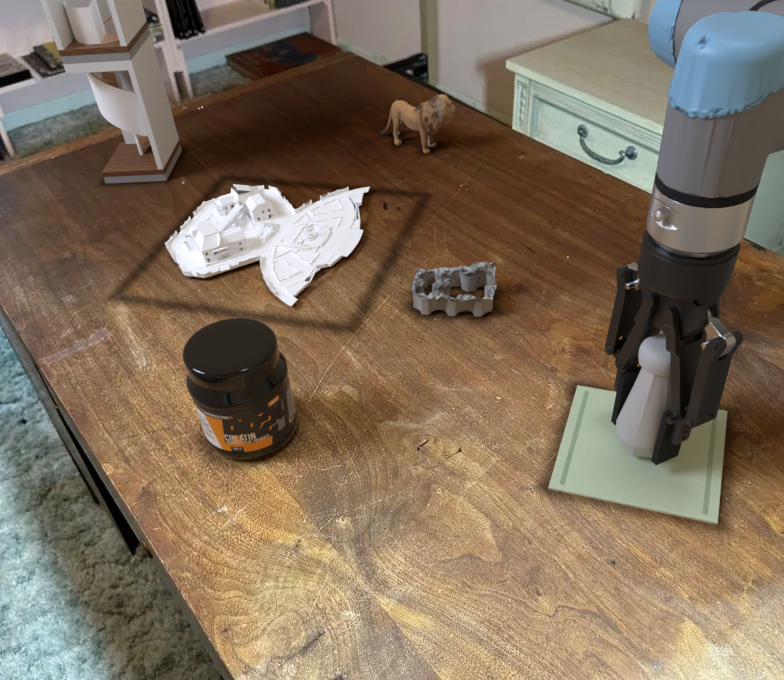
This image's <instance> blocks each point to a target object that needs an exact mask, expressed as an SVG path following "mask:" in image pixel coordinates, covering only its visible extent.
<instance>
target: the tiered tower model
mask: <svg viewBox="0 0 784 680" xmlns="http://www.w3.org/2000/svg"><path fill="white" fill-rule="evenodd" d="M39 2H40V3H41V7H42V9H43V13H44V15H45V18H46V20H47V23H48V26H49V30H50V33H51V35H52V37H53V40H54V43H55V46H56V49H57V51H58V54H59V58H60V60H61V63H62V66H63V68H64V72H65V73H66V75H68V74H69V75H70V74H86V76H87V78H88V81H89V84H90V87H91V90H92V93H93V96H94V99H95V102H96V105H97V107H98V110H99V112H100V114H101V115H102V117H103V118H104V119H105V120H106V121H107V122H109V124H111V125H112V126H114V127H116V128H119V129H120V131H121V133H122V136H123V137H122V138H123V140H124V141H121V142H120V143H119V144H118V146H117V148H116V149H115V151H114V152H113V154H112V155H111V156H110V158H109V160H108V162H107V163H106V164H105V166H104V168H103V170H102V171H101V175H102V178H103V180H104V183H105V184H121V183H123V184H124V183H125V184H126V183H127V184H128V183H145V182H167V181H168V179H169V177H170V175H171V173H172V171H173V169H174V167H175V165H176V164H177V161H178V159H179V157H180V155H181V153H182V152H183V149H182V144H181V140H180V138H179V134H178V130H177V127H176V126H177V125H176V123H175V120H174V116H173V111H172V109H171V105H170V104H171V103H170V101H169V98H168V94H167V90H166V85H165V82H164V79H163V75H162V72H161V68H160V64H159V60H158V57H157V53H156V49H155V46H154V42H153V39H152V34H151V30H150V28H149V24H148V20H147V16H146V13H145V10H144V5H143V2H142V0H39Z"/></svg>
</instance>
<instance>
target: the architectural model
mask: <svg viewBox="0 0 784 680" xmlns="http://www.w3.org/2000/svg"><path fill="white" fill-rule="evenodd" d="M370 188H371V186H365V187H359V188H354V189H350V188H349V186H347V187H344V188H342V189H336V190H335V191H332V192H327V194H326V193H325V194H323V196H322V195H319V200H317V201H315V202H313V200H312V199H309V201H307V202H306V203H304V202H303V204H302V205H301V206H299V207H297V208H294V207H293V204H292V203H290V202H289V200H288V199H286V196H285V195H284V196H282V192H281V191H280V190H279V188H278V187H275V186H272V185H268V188H265V185H264V184H262V185H248V184H237V183H236V184H234V183H233V184H232V186H231V187H230V193H227V194H222V195H220V196H218V197H216V198H214V197H212V199H209V198H208V200H207V201H205V200H203V201H202V202H201V204H200V205H199V206H197V208H196V210H194V211H192V215H193V217H192V218H191V216H188V218H187V220H185V221H184V223H183V224H182V225H180V226H179V227H180V231H179V232H177V230H175V231H174V233H173V235H170V236H169V239H168V240H167V241H165V242H164V245H165V248H166V250H167V251H168V253H169V254H170V256H171V258H172V260H173V261H174V263H176V264H177V265H178V268H179V270H180V271H181V273H182V274H183V275H184V276H185V277H192V278H193V277H195V278H201V279H202V278H203V279H206V278H211V277H213V276H216V275H218V274H222V273H224V272H228V271H231V270H234V269H237V268H239V267H243V266H247V265H249V264H252V263H255V262H258V261H259V265H260V266H259V269H260V273H261V274H262V279H263V280H264V282H265V285H266V286H267V288H268V289H269V291H271V293H272V294H273V295H274V296H275V297H276V298H278V299H279V300H280V301H281V302H282V303H284V304H286V305H287V306H289V307H293V306H294V304H295V303H296V302H297V301H299V299H298V298H296V297H298V295H299V294H301V292H302V291H304V290H305V289H306V288H307V287H308V286H309V285H310V284H311V282H312V281H313V279H314V277H315V275H316V273H318V272H319V271H321V270H322V269H324V268H325V269H326V268H329V267H330V268H331V267H333V266H334V265H335V264H336V263H337V262H339V261H340V260H341V259H342V258H344V257H345V258H348V256H349V255H351V253H352V252H353V251H354V250H355V249H356V248H357V245H358V244H359V243H360V241H361V239H362V236H363V234H364V229H361V220H362V219H361V215H360V208H359V207H360V206H363V198H364V195H365V194H366V193H369V190H370Z"/></svg>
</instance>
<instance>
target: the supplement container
mask: <svg viewBox="0 0 784 680" xmlns="http://www.w3.org/2000/svg"><path fill="white" fill-rule="evenodd" d="M182 361H183V364H184V367H185V370H186V377H185V384H186V388H187V392H188V394H189V396H190V397H191V399H192V402H193V404H194V408H195V410H196V414H197V416H198V419H199V422H200V425H201V428H202V432H203V436H204V439H205V441H206V442H207V444H208V445H209V447H210V448H211V449H212V450H213V451H215V452H216V453H217V454H219V455H221V456H223V457H226V458H229V459H234V460H241V461H242V460H244V461H245V460H255V459H259V458H263V457H266V456H268V455H271V454H273V453H275V452H276V451H278V450H280V449H282V447H284V446H285V445H286V444H287V443H288V442H289V441H290V440H291V438H292V437H293V436H294V435H295V433H296V430H297V427H298V423H299V413H298V410H297V407H296V403H295V399H294V395H293V390H292V385H291V380H290V376H289V366H288V365H289V364H288V361H287V359H286V357H285V354H284V353H283V352H282V351H281V350H280V347H279V343H278V337H277V336H276V333H275V331H274V329H272V328H271V327H270V326H269V325H267V324H266V323H264V322H263V321H260V320H257V319H253V318H247V317H233V318H232V317H231V318H225V319H221V320H218V321H214V322H212V323H209V324H207V325H205V326H203V327H201V328H200V329H198V330H197V331H196V332H195V333H193V334H192V335H191V336H190V337H189V338H188V340H187V341H186V342H185V344H184V346H183V349H182Z"/></svg>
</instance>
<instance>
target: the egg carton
mask: <svg viewBox="0 0 784 680" xmlns="http://www.w3.org/2000/svg"><path fill="white" fill-rule="evenodd" d="M496 268H497V266H496V262H495V261H494V262H493V261H492V262H489V261H477V262H472V263H471V265H470V266H467V265H459V266H457V267H455V266H454V267H447V266H443V267H436V268H434V269H432V268H430V269H428V270H427V269H426V268H417V269H416V273H415V275H414V279H413V282H412V283H411V284H412V285H411V290H410V291H411V292H412V299H413V300H412V302H413V308H414V309H416V310H418V311H420V312H421V315H422V316H423V315H424V316H430V314H431V313H433V312H434V311H442V312H445V313H446V314H447V316H449V317H456V316H457V315H458V314H459V313H461V312H469V313H472V314H473V317H475V318H480V317H483V315H485V314H487V313H490V312H492V311H493V309H494V296H495V291H496V290H497V286H498V285H497V281H496ZM429 286H431V288H432V289H431V291H430V293H429V294H427V293H426V291H425V289H426V288H427V287H429ZM453 287H457V288H459V287H460V288H461V290H463V291H465V292H472V291H476V290H478V289H479V288H484V296H483V297H481V298H479V297H478V298H477V297H476V296H475V295H473V294H466V293H465V294H463V293H462V292H461V293H460V294H458V295H457V296H456V297H452V296H451V289H452V288H453Z"/></svg>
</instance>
